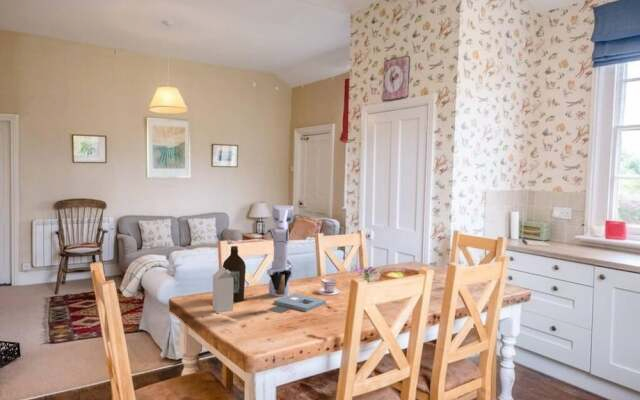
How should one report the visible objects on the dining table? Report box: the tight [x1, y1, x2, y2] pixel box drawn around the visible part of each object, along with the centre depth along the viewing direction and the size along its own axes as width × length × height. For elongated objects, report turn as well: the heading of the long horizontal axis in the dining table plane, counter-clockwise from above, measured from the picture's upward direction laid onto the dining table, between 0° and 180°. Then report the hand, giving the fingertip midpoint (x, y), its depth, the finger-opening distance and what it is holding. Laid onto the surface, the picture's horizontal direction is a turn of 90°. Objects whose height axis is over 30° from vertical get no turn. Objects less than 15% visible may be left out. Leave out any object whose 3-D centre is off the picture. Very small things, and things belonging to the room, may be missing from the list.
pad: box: [266, 305, 292, 314], centre depth 189 cm, size 8×8×1 cm
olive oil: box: [222, 245, 247, 303], centre depth 205 cm, size 11×11×25 cm
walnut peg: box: [275, 274, 285, 295], centre depth 189 cm, size 4×4×8 cm
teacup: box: [317, 277, 342, 296], centre depth 222 cm, size 12×12×6 cm
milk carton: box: [212, 265, 234, 315], centre depth 187 cm, size 7×7×19 cm
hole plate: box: [273, 293, 327, 313], centre depth 198 cm, size 18×15×3 cm
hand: (279, 288), depth 189 cm, fingers closed on walnut peg, 4 cm apart
